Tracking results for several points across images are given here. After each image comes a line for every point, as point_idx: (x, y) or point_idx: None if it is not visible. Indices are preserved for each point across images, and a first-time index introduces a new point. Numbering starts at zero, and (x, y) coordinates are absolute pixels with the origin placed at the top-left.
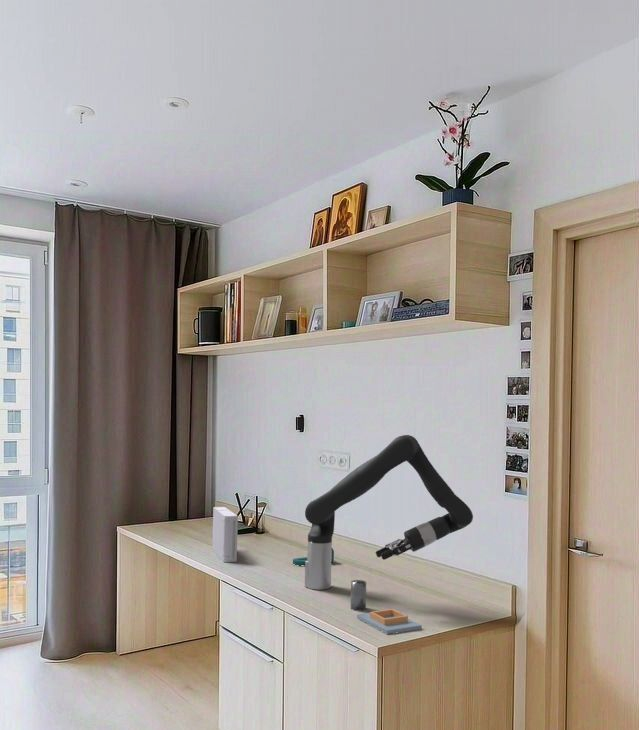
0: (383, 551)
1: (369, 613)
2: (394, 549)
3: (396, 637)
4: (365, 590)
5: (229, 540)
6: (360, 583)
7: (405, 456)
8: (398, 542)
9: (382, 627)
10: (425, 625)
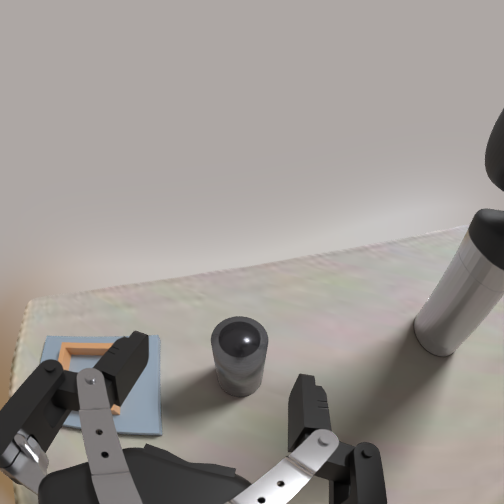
0: (295, 422)
1: (151, 365)
2: (50, 362)
3: (33, 346)
4: (219, 367)
5: None
6: (215, 336)
7: None
8: (112, 465)
9: (61, 338)
10: (49, 447)
